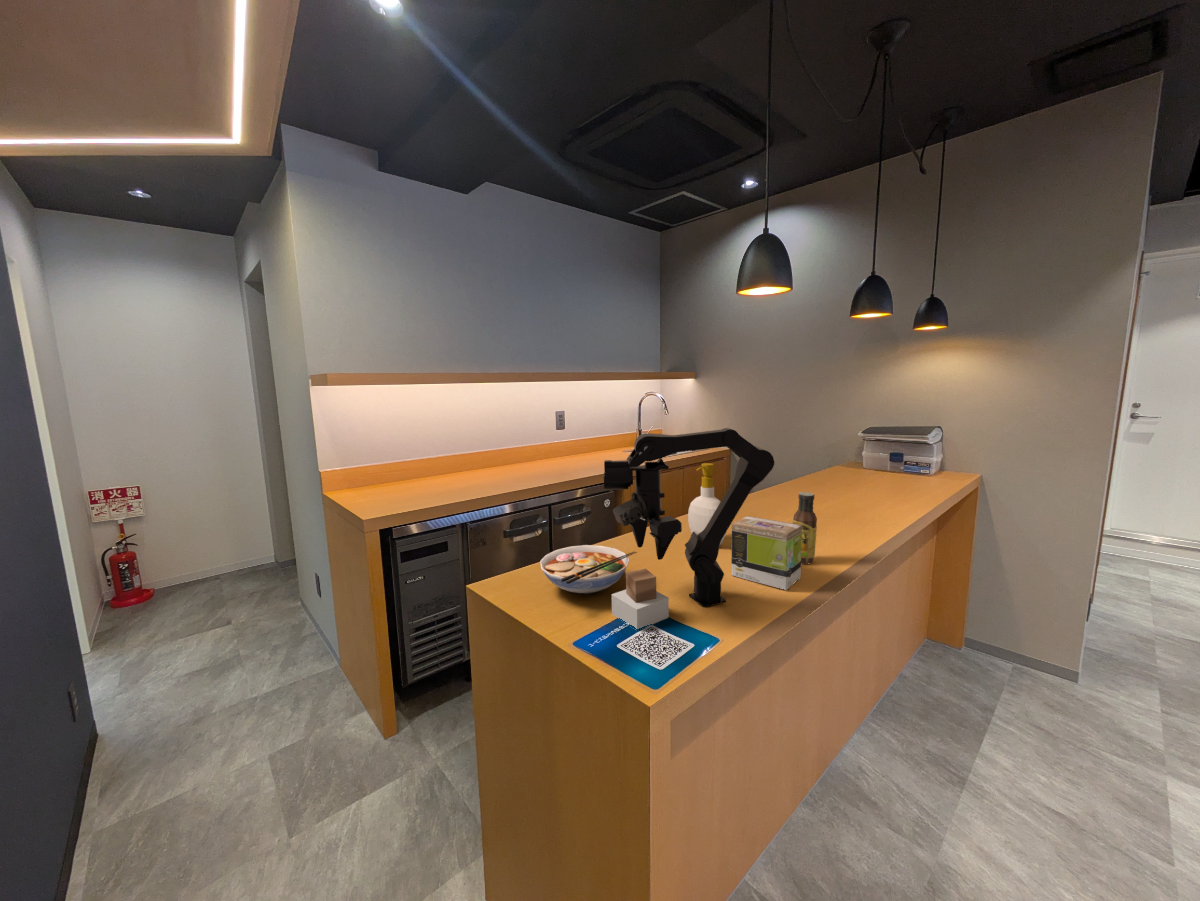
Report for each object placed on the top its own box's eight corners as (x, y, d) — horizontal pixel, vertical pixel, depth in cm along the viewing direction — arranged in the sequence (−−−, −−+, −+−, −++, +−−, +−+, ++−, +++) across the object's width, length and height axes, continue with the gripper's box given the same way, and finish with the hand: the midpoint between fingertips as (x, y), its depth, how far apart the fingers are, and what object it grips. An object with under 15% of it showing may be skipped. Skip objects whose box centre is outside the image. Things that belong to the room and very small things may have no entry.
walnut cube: (656, 598, 103) (656, 576, 102) (635, 602, 101) (635, 581, 100) (646, 589, 108) (645, 568, 107) (626, 593, 106) (625, 572, 105)
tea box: (801, 579, 122) (803, 524, 120) (786, 592, 115) (788, 534, 113) (747, 564, 132) (748, 514, 130) (729, 576, 125) (730, 522, 123)
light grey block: (668, 618, 104) (668, 597, 103) (637, 631, 99) (636, 609, 98) (642, 603, 111) (642, 583, 111) (612, 615, 106) (611, 594, 106)
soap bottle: (679, 541, 153) (679, 462, 149) (698, 535, 158) (698, 459, 154) (714, 553, 141) (715, 468, 137) (733, 546, 146) (734, 464, 143)
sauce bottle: (785, 559, 135) (788, 492, 132) (800, 555, 138) (803, 489, 135) (805, 567, 129) (807, 497, 126) (820, 562, 132) (823, 493, 129)
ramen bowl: (590, 562, 137) (589, 535, 136) (651, 584, 121) (651, 554, 120) (519, 590, 120) (517, 559, 119) (579, 621, 103) (578, 586, 102)
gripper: (599, 485, 113) (602, 547, 116) (637, 501, 97) (639, 573, 99) (639, 479, 118) (641, 539, 120) (682, 494, 101) (683, 563, 103)
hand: (649, 553), depth 110 cm, fingers open, 9 cm apart
